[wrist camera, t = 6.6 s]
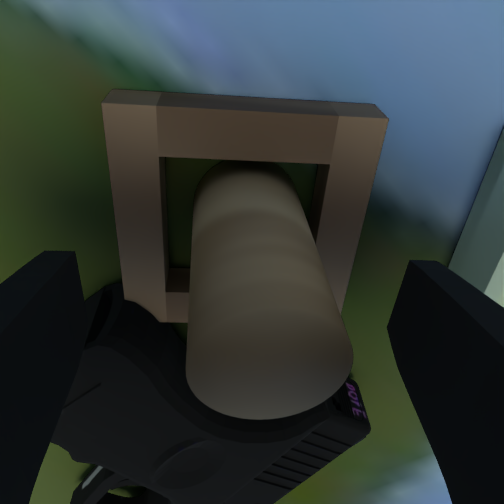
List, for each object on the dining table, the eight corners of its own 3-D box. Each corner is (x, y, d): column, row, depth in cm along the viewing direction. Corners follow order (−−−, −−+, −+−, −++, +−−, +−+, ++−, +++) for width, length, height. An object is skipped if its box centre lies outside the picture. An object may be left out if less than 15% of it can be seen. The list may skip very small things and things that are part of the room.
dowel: (287, 249, 14) (332, 419, 9) (191, 244, 13) (183, 420, 8) (305, 160, 12) (373, 309, 7) (195, 151, 12) (188, 304, 7)
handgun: (-72, 511, 22) (146, 555, 26) (-110, 585, 20) (138, 620, 24) (75, 240, 13) (366, 373, 18) (40, 311, 11) (390, 446, 15)
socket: (330, 299, 15) (338, 324, 14) (133, 296, 14) (127, 321, 13) (374, 104, 11) (388, 118, 10) (112, 89, 11) (101, 103, 10)
